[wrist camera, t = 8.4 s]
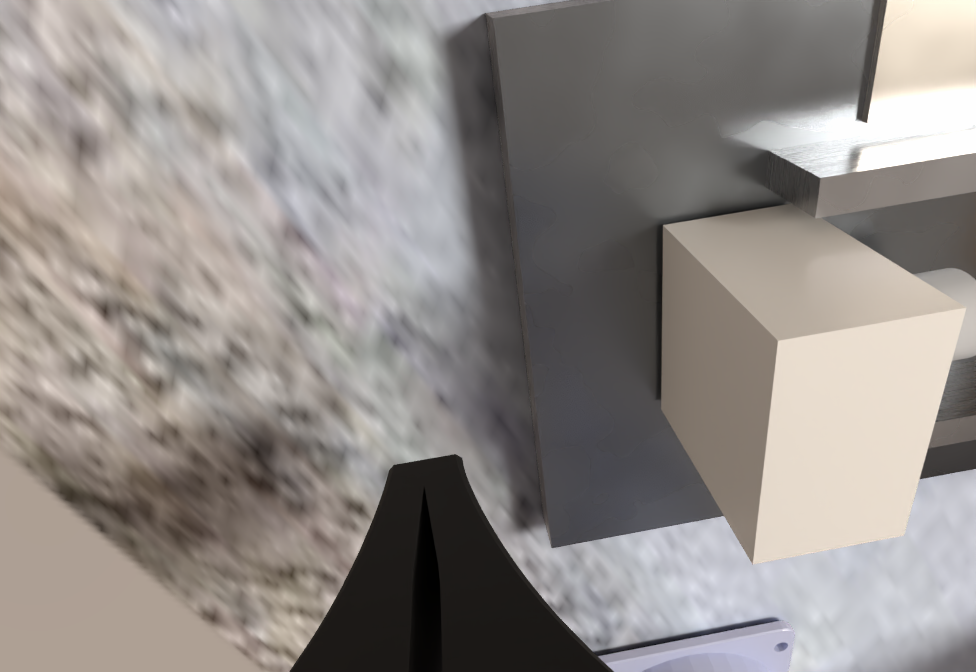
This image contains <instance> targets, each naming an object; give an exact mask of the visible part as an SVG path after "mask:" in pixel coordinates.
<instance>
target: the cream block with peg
mask: <svg viewBox="0 0 976 672" xmlns="http://www.w3.org/2000/svg"><path fill="white" fill-rule="evenodd" d="M975 355H976V280H975V279H974V278H973V277H972V276H971V275H969V274H968V273H966V272H964V271H962V270H959V269H956V268H945V269H940V270H934V271H928V272H922V273H917V274H911V273H910V272H908V271H906V270H905V269H903V268H902V267H900V266H898V265H897V264H895V263H893V262H892V261H890V260H889V259H887V258H885V257H884V256H882V255H881V254H879V253H877V252H876V251H874V250H872V249H871V248H869V247H868V246H866V245H864V244H863V243H861V242H859V241H858V240H856V239H855V238H853V237H851V236H850V235H848V234H847V233H845V232H843V231H842V230H840V229H838V228H837V227H835V226H834V225H832V224H830V223H829V222H827V221H825V220H824V219H822V218H816V219H815V218H814V217H812V216H810V215H809V214H807V213H806V212H804V211H802V210H801V209H799V208H798V207H796V206H795V205H793V204H786V205H780V206H774V207H768V208H762V209H756V210H750V211H744V212H738V213H732V214H726V215H720V216H714V217H708V218H702V219H696V220H690V221H684V222H678V223H672V224H667V225H663V276H662V383H661V410H662V411H663V413H664V415H665V416H666V418H667V420H668V422H669V423H670V425H671V427H672V428H673V430H674V432H675V433H676V435H677V437H678V439H679V440H680V442H681V444H682V445H683V447H684V449H685V450H686V452H687V454H688V455H689V457H690V459H691V461H692V462H693V464H694V466H695V467H696V469H697V471H698V472H699V474H700V476H701V478H702V479H703V481H704V483H705V484H706V486H707V488H708V489H709V491H710V493H711V495H712V496H713V498H714V500H715V501H716V503H717V505H718V506H719V508H720V510H721V511H722V513H723V515H724V517H725V518H726V520H727V522H728V523H729V525H730V527H731V528H732V530H733V532H734V534H735V535H736V537H737V539H738V540H739V542H740V544H741V545H742V547H743V549H744V551H745V552H746V554H747V556H748V557H749V559H750V561H751V562H752V564H757V563H763V562H768V561H773V560H778V559H784V558H789V557H794V556H799V555H805V554H810V553H815V552H820V551H825V550H831V549H836V548H841V547H846V546H852V545H857V544H862V543H867V542H873V541H878V540H883V539H888V538H894V537H899V536H904V534H905V530H906V526H907V523H908V519H909V515H910V512H911V508H912V504H913V501H914V497H915V494H916V490H917V486H918V483H919V479H920V475H921V472H922V468H923V464H924V461H925V457H926V453H927V450H928V446H929V443H930V439H931V435H932V432H933V428H934V424H935V421H936V417H937V413H938V410H939V406H940V403H941V399H942V395H943V392H944V388H945V384H946V381H947V377H948V373H949V370H950V366H951V362H952V361H954V360H959V359H965V358H970V357H973V356H975Z"/></svg>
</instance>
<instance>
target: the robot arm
mask: <svg viewBox="0 0 976 672" xmlns="http://www.w3.org/2000/svg"><path fill="white" fill-rule="evenodd" d="M794 638H795V631H794V630H793V628H792V626H791V625H790V624H789V623H788V622H786V621H776V622H771V623H765V624H760V625H755V626H750V627H745V628H740V629H735V630H730V631H724V632H719V633H714V634H709V635H704V636H699V637H694V638H689V639H683V640H678V641H673V642H668V643H663V644H658V645H653V646H648V647H642V648H637V649H632V650H627V651H622V652H617V653H612V654H607V655H601V656H597V655H596V654H594V653H593V652H592V651H591V650H590V649H589V648H588V647H587V646H586V645H585V643H584V642H583V641H582V640H581V639H580V638H579V637H578V636H577V635H576V634H575V633H574V632H573V631H572V630H571V629H570V628H569V627H568V626H567V625H566V624H565V623H564V622H563V621H562V620H561V619H560V618H559V617H558V616H557V614H556V613H555V612H554V611H553V610H552V609H551V608H550V606H549V605H548V604H547V603H546V602H545V601H544V599H543V598H542V597H541V596H540V595H539V593H538V592H537V591H536V590H535V588H534V587H533V586H532V585H531V583H530V582H529V581H528V580H527V578H526V577H525V576H524V574H523V573H522V572H521V570H520V569H519V568H518V566H517V565H516V563H515V562H514V561H513V559H512V558H511V556H510V555H509V553H508V552H507V550H506V549H505V547H504V546H503V544H502V543H501V541H500V540H499V538H498V536H497V535H496V533H495V532H494V530H493V528H492V526H491V525H490V523H489V521H488V520H487V518H486V516H485V514H484V513H483V511H482V509H481V507H480V505H479V503H478V501H477V499H476V497H475V495H474V493H473V491H472V488H471V486H470V484H469V481H468V479H467V476H466V473H465V470H464V466H463V461H462V458H461V457H459V456H458V455H456V454H454V455H449V456H443V457H437V458H432V459H426V460H420V461H414V462H409V463H403V464H397V465H393V467H392V468H391V469H390V470H389V473H388V477H387V481H386V484H385V487H384V491H383V494H382V497H381V499H380V502H379V505H378V508H377V510H376V513H375V516H374V518H373V521H372V523H371V526H370V528H369V530H368V533H367V535H366V537H365V540H364V542H363V544H362V547H361V549H360V551H359V553H358V556H357V558H356V560H355V562H354V564H353V566H352V568H351V570H350V572H349V574H348V576H347V578H346V580H345V582H344V584H343V586H342V588H341V590H340V592H339V593H338V595H337V597H336V599H335V601H334V602H333V604H332V606H331V608H330V609H329V611H328V613H327V615H326V616H325V618H324V620H323V621H322V623H321V625H320V626H319V628H318V630H317V631H316V633H315V634H314V636H313V638H312V639H311V641H310V642H309V644H308V645H307V647H306V648H305V650H304V651H303V653H302V654H301V655H300V657H299V658H298V660H297V661H296V663H295V664H294V666H293V667H292V669H291V670H290V672H789V667H790V661H791V655H792V649H793V644H794Z"/></svg>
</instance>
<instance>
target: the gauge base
mask: <svg viewBox="0 0 976 672" xmlns="http://www.w3.org/2000/svg"><path fill="white" fill-rule="evenodd" d="M485 14H486V22H487V31H488V40H489V48H490V57H491V66H492V74H493V83H494V92H495V100H496V109H497V118H498V126H499V135H500V144H501V152H502V161H503V170H504V178H505V187H506V196H507V205H508V213H509V222H510V231H511V239H512V248H513V257H514V265H515V274H516V283H517V291H518V300H519V309H520V317H521V326H522V335H523V343H524V352H525V361H526V369H527V378H528V387H529V396H530V404H531V413H532V422H533V430H534V439H535V448H536V456H537V465H538V474H539V482H540V491H541V500H542V508H543V517H544V521H545V525H546V529H547V532H548V536H549V540H550V544H551V547H552V548H555V547H560V546H566V545H571V544H576V543H582V542H587V541H592V540H598V539H603V538H608V537H614V536H619V535H624V534H630V533H635V532H641V531H646V530H651V529H657V528H662V527H667V526H673V525H678V524H683V523H689V522H694V521H699V520H705V519H710V518H715V517H721V516H724V515H723V513H722V511H721V510H720V508H719V506H718V505H717V503H716V501H715V500H714V498H713V496H712V495H711V493H710V491H709V489H708V488H707V486H706V484H705V483H704V481H703V479H702V478H701V476H700V474H699V472H698V471H697V469H696V467H695V466H694V464H693V462H692V461H691V459H690V457H689V455H688V454H687V452H686V450H685V449H684V447H683V445H682V444H681V442H680V440H679V439H678V437H677V435H676V433H675V432H674V430H673V428H672V427H671V425H670V423H669V422H668V420H667V418H666V416H665V415H664V413H663V411H662V410H661V383H662V276H663V225H667V224H672V223H678V222H684V221H690V220H696V219H702V218H708V217H714V216H720V215H726V214H732V213H738V212H744V211H750V210H756V209H762V208H768V207H774V206H780V205H786V204H793V205H795V206H796V207H798V208H799V209H801V210H802V211H804V212H806V213H807V214H809V215H810V216H812V217H814V218H815V219H816V218H822V219H824V220H825V221H827V222H829V223H830V224H832V225H834V226H835V227H837V228H838V229H840V230H842V231H843V232H845V233H847V234H848V235H850V236H851V237H853V238H855V239H856V240H858V241H859V242H861V243H863V244H864V245H866V246H868V247H869V248H871V249H872V250H874V251H876V252H877V253H879V254H881V255H882V256H884V257H885V258H887V259H889V260H890V261H892V262H893V263H895V264H897V265H898V266H900V267H902V268H903V269H905V270H906V271H908V272H910V273H911V274H917V273H922V272H928V271H934V270H940V269H945V268H956V269H959V270H962V271H964V272H966V273H968V274H969V275H971V276H972V277H973V278H974V279H975V280H976V0H569V1H563V2H556V3H550V4H543V5H536V6H530V7H523V8H517V9H510V10H503V11H497V12H490V13H485ZM971 469H976V355H975V356H973V357H970V358H965V359H959V360H954V361H952V362H951V366H950V370H949V373H948V377H947V381H946V384H945V388H944V392H943V395H942V399H941V403H940V406H939V410H938V413H937V417H936V421H935V424H934V428H933V432H932V435H931V439H930V443H929V446H928V450H927V453H926V457H925V461H924V464H923V468H922V472H921V475H920V479H923V478H929V477H934V476H939V475H945V474H950V473H955V472H961V471H966V470H971Z"/></svg>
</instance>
